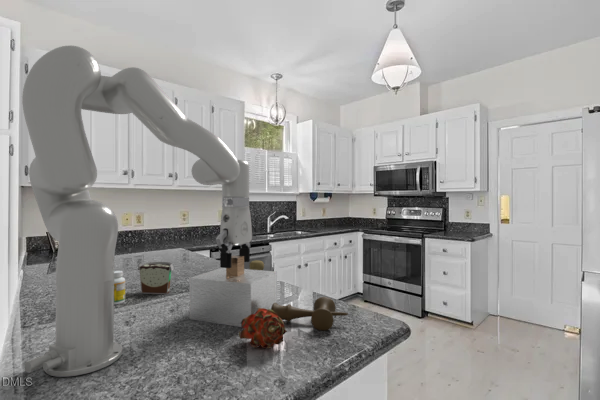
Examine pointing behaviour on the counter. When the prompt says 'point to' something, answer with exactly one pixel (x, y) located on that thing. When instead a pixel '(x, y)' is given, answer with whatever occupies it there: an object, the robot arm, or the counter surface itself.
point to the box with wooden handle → (231, 293)
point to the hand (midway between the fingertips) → (235, 264)
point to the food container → (155, 277)
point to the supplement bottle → (119, 287)
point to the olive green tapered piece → (256, 265)
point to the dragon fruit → (263, 328)
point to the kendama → (311, 313)
